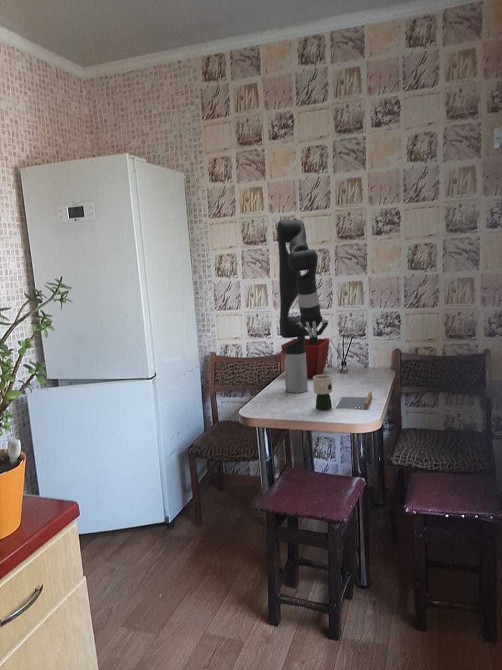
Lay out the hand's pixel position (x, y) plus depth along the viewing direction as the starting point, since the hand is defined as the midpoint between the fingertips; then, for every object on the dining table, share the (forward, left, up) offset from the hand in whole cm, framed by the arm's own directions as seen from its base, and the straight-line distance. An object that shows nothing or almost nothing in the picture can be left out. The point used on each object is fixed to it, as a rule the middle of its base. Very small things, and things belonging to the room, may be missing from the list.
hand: (314, 344), depth 206 cm
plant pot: (-17, +57, -26) cm, 65 cm away
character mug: (+2, 0, -26) cm, 26 cm away
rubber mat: (+12, +9, -26) cm, 30 cm away
